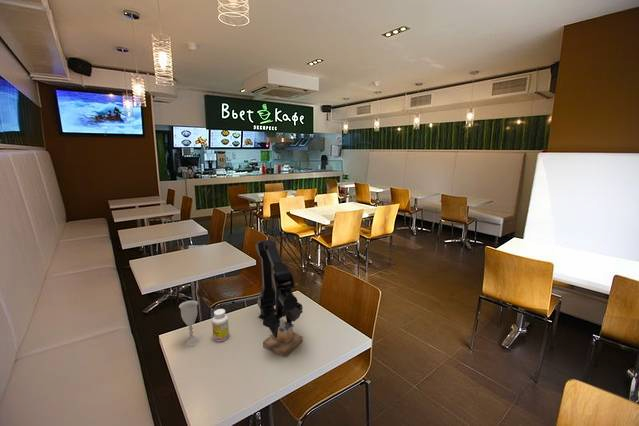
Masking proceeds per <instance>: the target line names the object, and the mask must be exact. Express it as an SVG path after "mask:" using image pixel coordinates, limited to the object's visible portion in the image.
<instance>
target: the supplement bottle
mask: <svg viewBox="0 0 639 426" xmlns="http://www.w3.org/2000/svg"><path fill="white" fill-rule="evenodd" d="M211 323H212V325H211V327H212V338H213V340H214V341H215V342H218V343H220V342H225V341H226V340H227V339H229V337H230V332H229V331H230V330H229V328H230V327H229V316H228V315H227V314H226V310H225V309H224V308H217V309H216V310H214V311H213V317H212V319H211Z"/></svg>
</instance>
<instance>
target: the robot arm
mask: <svg viewBox="0 0 639 426" xmlns="http://www.w3.org/2000/svg"><path fill="white" fill-rule="evenodd" d="M255 250H256V252H257V255H258V256H259V257H260V263H261V281H262V287H261V289H260V291H259V297H258V299H257V306H258V307H259V310H260V315H259V316H258V319H262V326H263V327H267V328H268V329H269V330H270V331H271V335H272V334H273V335H274V337H275V338H277V335H278V327H279V326H280V325H279V324H280V319H281V320H282V319H283V318H285V319H286V320H285V321H286V322H289V323H291V324H293V322H296V321H297V319H299V318H300V316H301V314H303V312H304V311H303V309H304V308H303V304H302V303H300V302H298V299H297V297H296V296H295V295H294V293H293V292H292V289H295V283H296V282H295V279H294V275H293V272H292V271H291V270H290V269H289V266H288V265H286V264H285V263H284V262H283V261H282V258H281V255H280V253H279V251H278V249H277V243H276V240H275V241H274V240H272V239H262V240H258V241H257V242H256V243H255ZM273 287H274V288H273Z"/></svg>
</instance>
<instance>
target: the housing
mask: <svg viewBox="0 0 639 426" xmlns="http://www.w3.org/2000/svg"><path fill="white" fill-rule="evenodd" d="M279 325H280V326H279V327H278V335H277V338H275V337H274V335H273V336H272V339H273V340H275V341H278V342H280V343H282V344H285V345H288V344H289V343H290V342H291V341H292V340H293V339H294V336H293V333H294V327H295V326H294V325H295V324H294V323H289V322H287V320H283V319H282V318H281V319H280V324H279Z"/></svg>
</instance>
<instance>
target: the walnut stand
mask: <svg viewBox="0 0 639 426" xmlns="http://www.w3.org/2000/svg"><path fill="white" fill-rule="evenodd" d="M272 336H273V334H272V333H271V335H270V336H268V337H267V338H266V339H264V340H263V341H262V347H263V348H264V349H266V350H269V351H271V352H273V353H275V354H278V355H280V356H282V357H284V358H287V356H289V355H290V354H291V353H292V352H293V351H294V350H295V349H296V348H297V347H298V346H299V345H301V343H302V342H303V336H302V335H301V334H298V333H295V332H293V336H294V339H293V340H292V341H291V342H290V343H289V344H288V345H285V344H282V343H280V342H278V341H275V340H273V339H272Z"/></svg>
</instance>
